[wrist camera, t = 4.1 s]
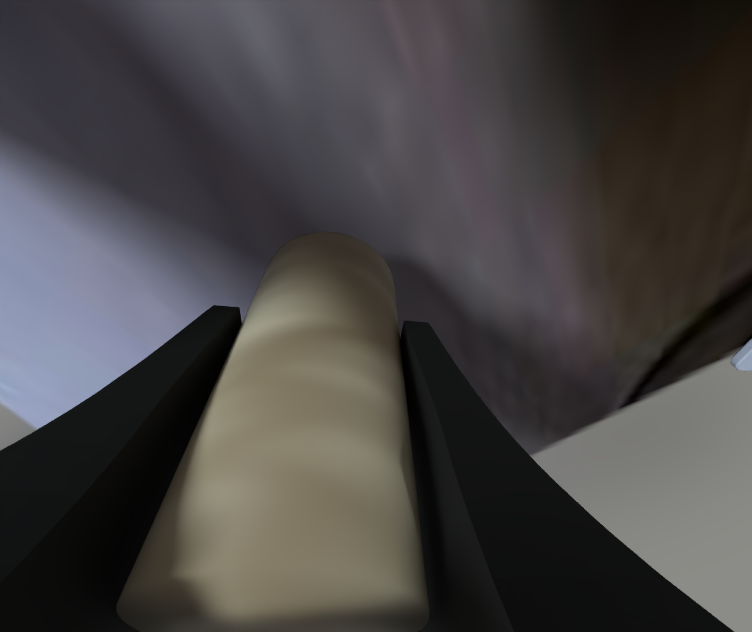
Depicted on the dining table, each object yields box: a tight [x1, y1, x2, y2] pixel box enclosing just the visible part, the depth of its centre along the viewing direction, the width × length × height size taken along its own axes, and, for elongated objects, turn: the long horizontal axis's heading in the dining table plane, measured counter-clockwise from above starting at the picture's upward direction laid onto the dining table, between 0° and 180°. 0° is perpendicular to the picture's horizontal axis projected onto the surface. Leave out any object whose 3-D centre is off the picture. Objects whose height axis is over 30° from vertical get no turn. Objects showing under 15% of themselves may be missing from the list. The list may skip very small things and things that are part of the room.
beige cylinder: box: [116, 232, 430, 632], centre depth 8 cm, size 4×4×8 cm
